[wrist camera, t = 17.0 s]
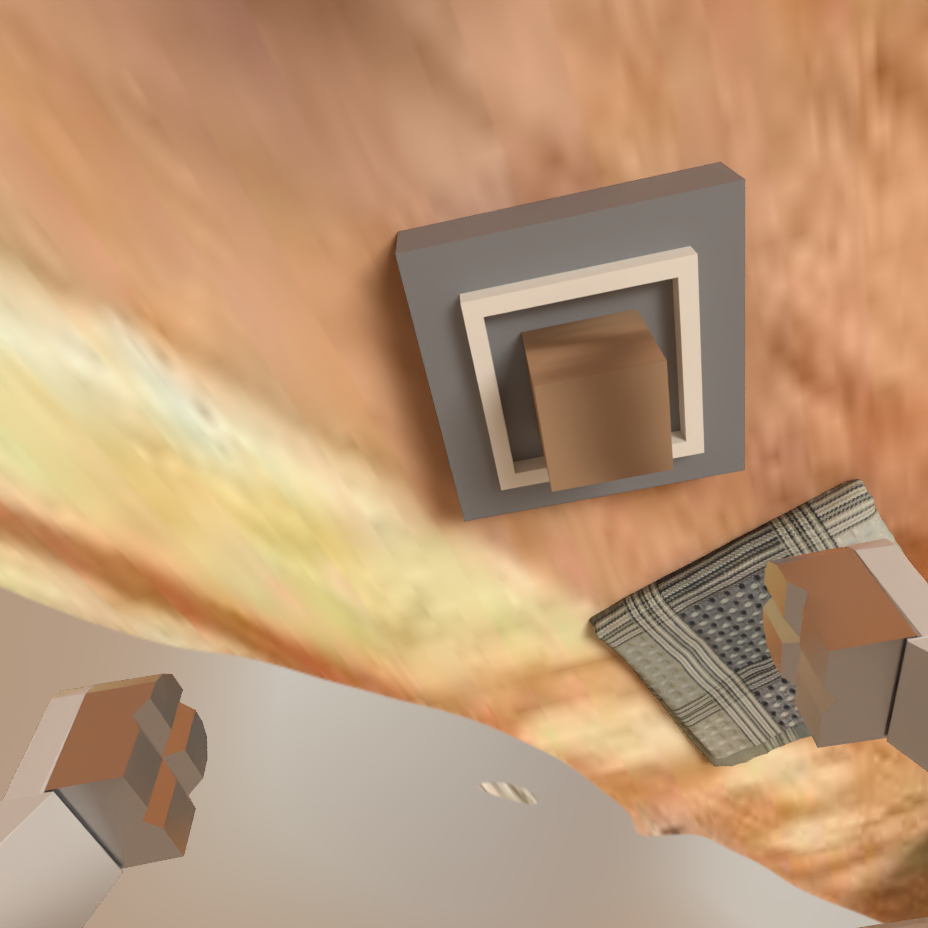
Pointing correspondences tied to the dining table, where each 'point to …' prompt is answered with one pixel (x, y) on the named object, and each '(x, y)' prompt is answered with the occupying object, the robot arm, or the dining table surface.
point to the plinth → (577, 298)
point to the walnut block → (599, 399)
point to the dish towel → (731, 629)
